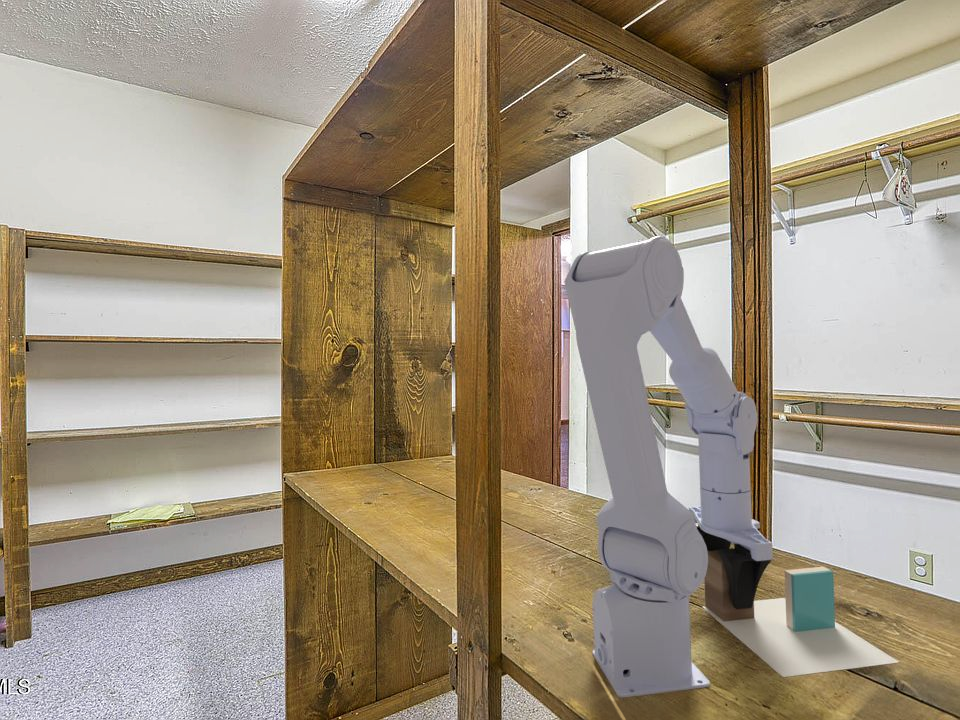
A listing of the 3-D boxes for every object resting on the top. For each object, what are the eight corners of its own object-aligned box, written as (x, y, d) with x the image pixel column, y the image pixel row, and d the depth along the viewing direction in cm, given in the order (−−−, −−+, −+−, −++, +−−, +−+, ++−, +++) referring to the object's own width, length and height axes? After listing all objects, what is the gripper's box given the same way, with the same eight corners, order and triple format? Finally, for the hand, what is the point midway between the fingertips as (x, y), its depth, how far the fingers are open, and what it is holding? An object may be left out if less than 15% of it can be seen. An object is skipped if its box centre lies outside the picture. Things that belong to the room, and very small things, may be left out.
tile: (795, 631, 61) (793, 575, 61) (786, 625, 62) (784, 570, 62) (835, 627, 62) (833, 571, 61) (825, 621, 63) (823, 566, 63)
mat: (783, 680, 53) (782, 676, 53) (701, 609, 68) (701, 606, 68) (899, 666, 54) (899, 662, 54) (795, 599, 69) (795, 596, 69)
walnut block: (723, 621, 64) (721, 563, 64) (705, 606, 68) (703, 551, 68) (754, 618, 64) (752, 560, 64) (734, 603, 68) (732, 548, 68)
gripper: (796, 501, 59) (800, 622, 59) (721, 472, 74) (724, 570, 74) (737, 505, 58) (741, 628, 58) (673, 476, 73) (676, 575, 73)
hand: (728, 596), depth 66 cm, fingers open, 5 cm apart
